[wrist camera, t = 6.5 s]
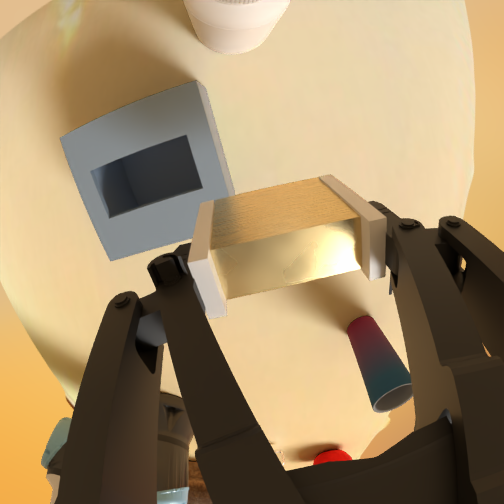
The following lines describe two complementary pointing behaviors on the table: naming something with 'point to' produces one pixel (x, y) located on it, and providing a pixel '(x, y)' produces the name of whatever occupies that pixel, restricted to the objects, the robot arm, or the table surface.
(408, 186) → the table surface
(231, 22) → the pill bottle
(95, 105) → the table surface
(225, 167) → the grey hollow box
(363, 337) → the cup
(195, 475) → the bread
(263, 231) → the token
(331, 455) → the tomato
